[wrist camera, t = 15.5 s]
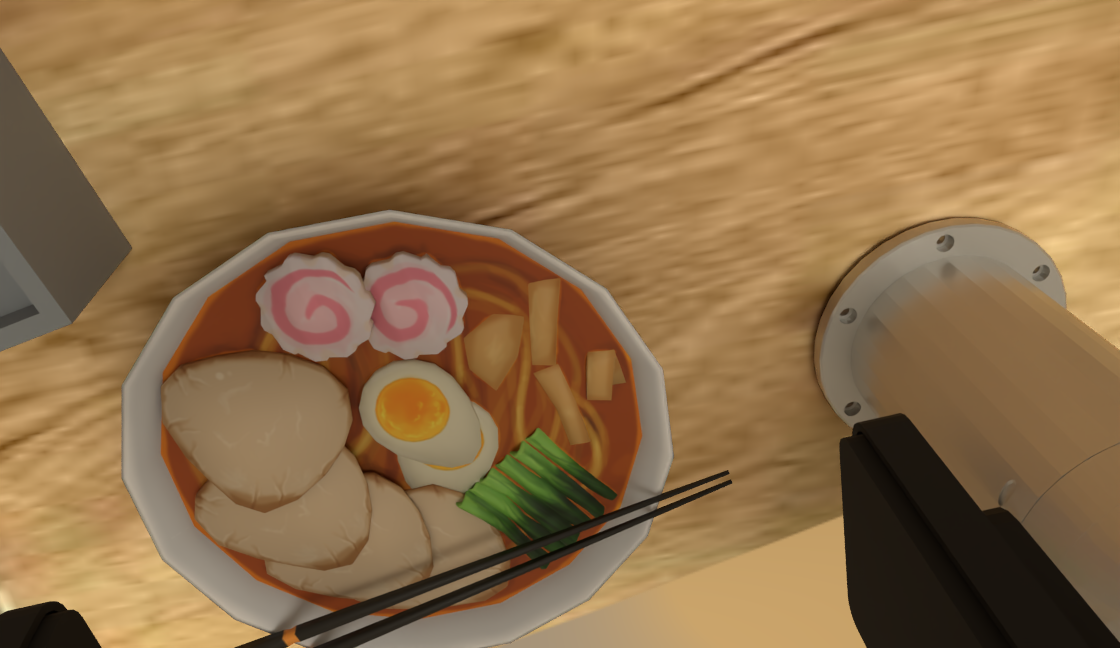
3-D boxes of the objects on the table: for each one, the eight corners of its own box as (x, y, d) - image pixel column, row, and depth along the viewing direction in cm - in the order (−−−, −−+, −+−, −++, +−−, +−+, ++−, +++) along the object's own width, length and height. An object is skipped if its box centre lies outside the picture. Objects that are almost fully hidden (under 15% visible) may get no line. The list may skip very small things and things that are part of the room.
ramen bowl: (568, 56, 38) (595, 106, 31) (718, 460, 49) (764, 567, 42) (41, 275, 40) (-49, 369, 33) (296, 615, 51) (270, 743, 44)
